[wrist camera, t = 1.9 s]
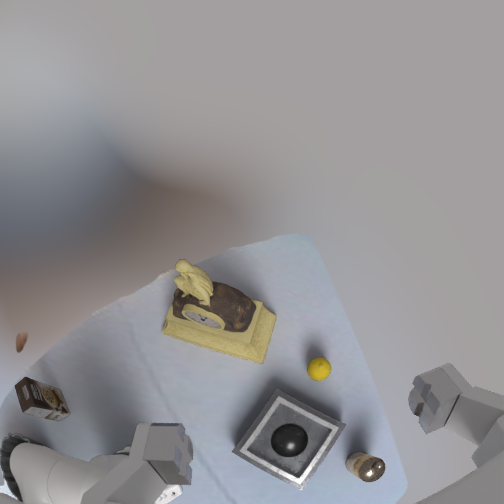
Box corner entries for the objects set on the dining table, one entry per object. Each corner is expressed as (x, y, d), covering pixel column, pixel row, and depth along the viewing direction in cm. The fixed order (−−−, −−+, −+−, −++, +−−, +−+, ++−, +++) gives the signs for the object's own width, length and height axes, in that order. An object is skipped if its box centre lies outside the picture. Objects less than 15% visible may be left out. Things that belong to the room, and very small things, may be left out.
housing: (300, 484, 50) (302, 492, 43) (235, 449, 57) (229, 452, 50) (341, 424, 57) (348, 424, 50) (277, 390, 64) (276, 386, 57)
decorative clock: (164, 334, 75) (109, 283, 51) (181, 294, 82) (138, 230, 57) (262, 364, 69) (249, 325, 44) (276, 318, 75) (271, 256, 50)
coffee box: (71, 413, 62) (34, 405, 49) (58, 421, 60) (22, 413, 47) (60, 388, 67) (25, 375, 53) (48, 396, 65) (13, 385, 52)
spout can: (360, 475, 49) (380, 488, 36) (341, 468, 51) (356, 479, 38) (372, 456, 51) (395, 463, 38) (353, 448, 53) (372, 454, 40)
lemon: (310, 385, 64) (313, 381, 57) (303, 365, 67) (305, 358, 60) (331, 378, 64) (337, 372, 58) (324, 358, 67) (328, 350, 61)
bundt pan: (52, 521, 39) (32, 524, 31) (10, 461, 50) (-9, 458, 41) (85, 485, 49) (64, 488, 41) (38, 421, 60) (17, 416, 52)
